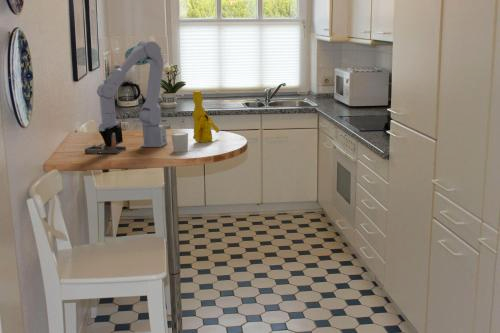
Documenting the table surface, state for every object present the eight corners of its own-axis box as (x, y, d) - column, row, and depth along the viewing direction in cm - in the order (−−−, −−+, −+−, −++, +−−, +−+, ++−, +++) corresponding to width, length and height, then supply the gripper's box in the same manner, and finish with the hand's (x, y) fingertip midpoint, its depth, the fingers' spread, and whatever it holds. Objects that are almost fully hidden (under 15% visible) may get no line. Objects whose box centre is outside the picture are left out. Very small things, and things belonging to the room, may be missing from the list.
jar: (118, 148, 264) (117, 132, 262) (113, 151, 260) (111, 134, 258) (109, 148, 265) (107, 132, 264) (103, 150, 261) (102, 134, 260)
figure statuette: (197, 145, 267) (194, 93, 263) (183, 144, 272) (180, 93, 267) (223, 138, 281) (220, 89, 277) (209, 137, 286) (206, 88, 281)
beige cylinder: (182, 152, 254) (181, 135, 253) (169, 151, 258) (167, 134, 256) (192, 149, 260) (191, 132, 258) (179, 148, 263) (178, 131, 262)
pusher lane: (126, 150, 265) (125, 145, 265) (117, 153, 258) (117, 149, 257) (94, 149, 269) (93, 145, 269) (85, 153, 262) (84, 148, 261)
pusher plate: (109, 150, 266) (109, 143, 265) (103, 152, 261) (102, 145, 260) (108, 150, 266) (107, 143, 265) (102, 152, 261) (101, 145, 260)
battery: (115, 143, 282) (113, 121, 280) (106, 142, 287) (104, 120, 285) (123, 141, 285) (121, 119, 283) (114, 140, 290) (112, 118, 288)
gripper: (107, 110, 267) (110, 142, 270) (90, 115, 253) (94, 148, 256) (123, 110, 265) (126, 142, 268) (106, 115, 251) (109, 148, 254)
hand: (111, 145), depth 262 cm, fingers closed on jar, 4 cm apart
